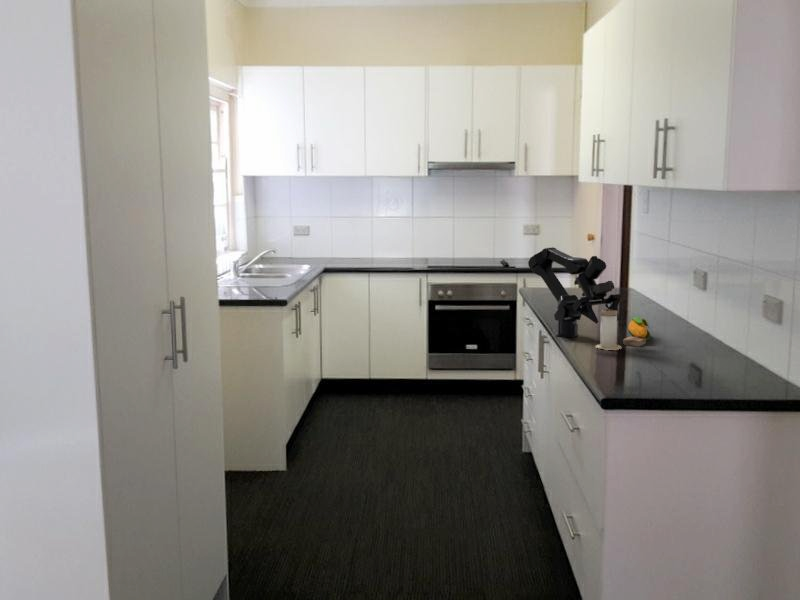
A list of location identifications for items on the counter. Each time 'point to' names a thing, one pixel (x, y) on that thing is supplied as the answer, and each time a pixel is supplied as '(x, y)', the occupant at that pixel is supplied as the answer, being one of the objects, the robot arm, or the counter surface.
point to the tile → (634, 341)
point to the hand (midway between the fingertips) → (607, 321)
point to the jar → (608, 328)
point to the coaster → (609, 348)
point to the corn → (639, 328)
